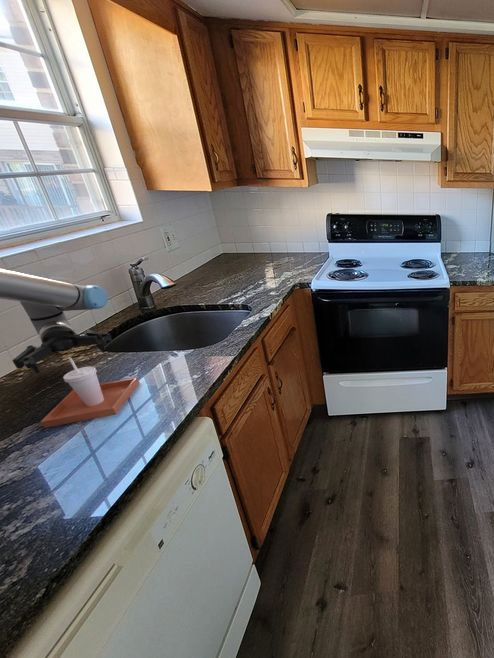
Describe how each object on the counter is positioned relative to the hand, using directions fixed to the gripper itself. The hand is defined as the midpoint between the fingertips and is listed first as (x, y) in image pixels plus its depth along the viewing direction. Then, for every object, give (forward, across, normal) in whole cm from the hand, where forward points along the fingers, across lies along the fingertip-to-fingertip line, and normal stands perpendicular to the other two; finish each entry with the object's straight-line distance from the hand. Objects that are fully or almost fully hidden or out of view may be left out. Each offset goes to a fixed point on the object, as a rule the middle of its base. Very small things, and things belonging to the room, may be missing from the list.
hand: (70, 357), depth 101 cm
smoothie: (+8, 0, -11) cm, 14 cm away
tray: (+9, 0, -12) cm, 15 cm away
